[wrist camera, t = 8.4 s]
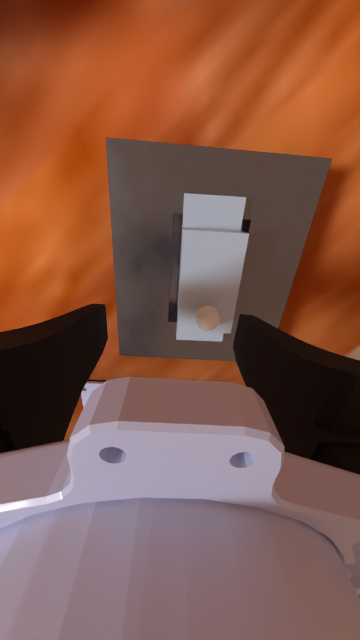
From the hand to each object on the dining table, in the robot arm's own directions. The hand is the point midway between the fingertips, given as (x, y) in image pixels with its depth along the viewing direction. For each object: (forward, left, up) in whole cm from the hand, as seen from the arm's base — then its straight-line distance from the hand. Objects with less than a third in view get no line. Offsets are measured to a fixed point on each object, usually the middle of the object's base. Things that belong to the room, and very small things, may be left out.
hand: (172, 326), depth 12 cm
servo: (+1, -2, -9) cm, 9 cm away
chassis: (+1, -2, -9) cm, 10 cm away
